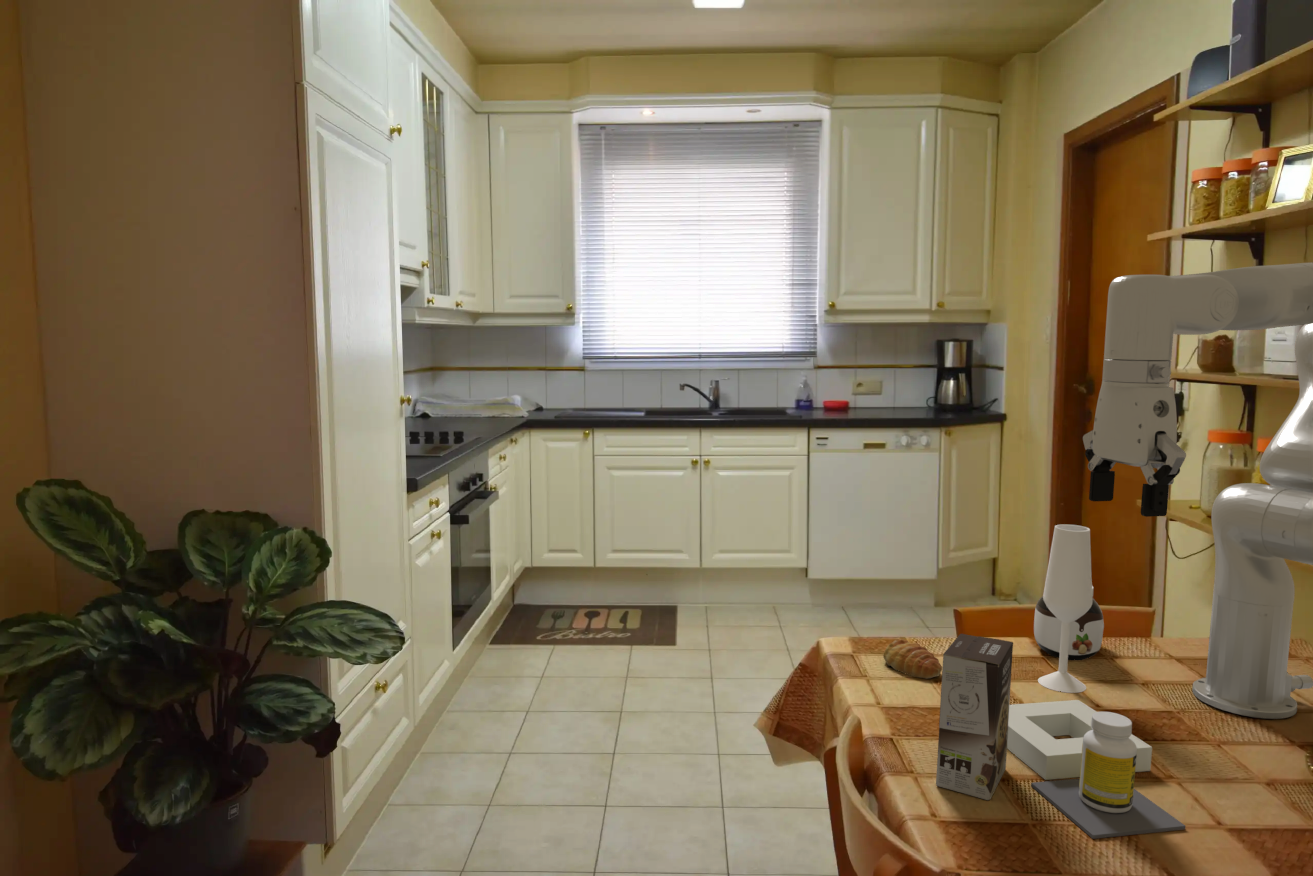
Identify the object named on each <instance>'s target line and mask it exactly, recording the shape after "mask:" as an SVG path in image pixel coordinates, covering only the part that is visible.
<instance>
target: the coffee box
mask: <svg viewBox="0 0 1313 876" xmlns="http://www.w3.org/2000/svg"><path fill="white" fill-rule="evenodd" d="M1013 649H1014V642H1013V641H1009V640H1004V639H999V638H991V637H986V636H985V637H984V636H975V635H971V634H970V635H968V634H965V633H959V635H958V636H957V637H956V639H955V640H954V641H953V642H952V643H951V644H950V645H949V646H948V648H947V649H946V650H945V651H944V653H943V654H942V657H943V658H942V671H941V672H942V673H941V687H940V688H941V690H940V705H939V708H940V709H939V720H938V722H939V723H938V725H939V726H938V741H937V742H938V743H937V744H938V745H937V758H936V759H937V763H936V777H935V786H937V787H940V788H943V789H947V790H951V791H954V792H958V793H960V794H961V793H962V794H964V795H967V796H972V797H975V798H977V799H978V798H979V799H981V800H986V801H989V800H991V799H992V796H993V794H995V791H996V789H997V787H998V784H999V783H1000V781H1001V779H1002V777H1003V775H1004V773H1005V771H1006V769H1007V768H1006V767H1007V755H1008V749H1007V740H1008V721H1009V705H1010V703H1011V702H1010V701H1011V683H1012V681H1011V680H1012V667H1013V666H1012V664H1013V651H1014V650H1013Z"/></svg>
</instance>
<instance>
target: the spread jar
mask: <svg viewBox="0 0 1313 876" xmlns="http://www.w3.org/2000/svg"><path fill="white" fill-rule="evenodd" d="M1094 589H1095V588H1094V586H1093V585H1092V606H1091V608H1090V609H1089V610H1088V611H1087V612H1086V613H1085V614H1084V615H1083V616H1081V617H1080V618H1078V619H1077V620H1075V621H1073V622H1070V634H1069V649H1068V661H1084V660H1087V659H1089V658H1092V657H1093V656H1095V655H1097V653H1098V652H1099V651H1100V649H1101V647H1102V642H1103V636H1104V635H1103V634H1104V630H1105V629H1104V628H1105V623H1104V615H1103V611H1102V609H1101V607H1100V605H1099V604H1098V602H1097V601H1096V600H1095V598H1094ZM1034 609H1035V610H1034V618H1033V619H1034V620H1033V634H1034V639H1035V641H1036V643H1037V645H1038V646H1039V648H1040V649H1041V650H1042V651H1043V652H1044V653H1045V652H1046V653H1045V654H1047V655H1048V654H1049V655H1048V656H1050V657H1053V656H1054V657H1053V658H1056V659H1059V655H1060V640H1061V625H1062V621H1061V620H1059V619H1058V618H1056V616H1055V615H1054V614H1053V613H1052V612H1051V611H1050V610H1049V609H1048V607H1047V606H1046V604H1045V602H1044V600H1043V595H1042V596H1041V597H1040V598H1039V599H1038V600H1037V603H1036V605H1035V608H1034Z"/></svg>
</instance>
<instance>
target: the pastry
mask: <svg viewBox="0 0 1313 876" xmlns="http://www.w3.org/2000/svg"><path fill="white" fill-rule="evenodd" d="M882 656H883V659H884V661H885V663H886V664H887V666H888V667H890V666H891V668H893V669H894V670H895V671H897V670H899V671H900V672H902V673H903V674H905V673H906V674H905V675H909V676H911V677H914V678H918V679H919V678H923V679H925V680H927V679H928V680H929V679H932V678H934V677H939V676H940V675H941V674H942V673H941V672H942V669H943V665H942V664H941V663H940V662H939V659H938V657H936V656H935V655H934V653H933V652H930V651H929V650H928V649H927V648H926V647H925V646H921V645H920V644H919V643H916V642H910V641H908V640H906V639H903V638H897V639H894V640H893V641H892V642H891V643H889V644H888V645H887V646H886V648H885V650H884V651H883V654H882ZM899 671H898V672H899ZM900 672H899V673H900Z"/></svg>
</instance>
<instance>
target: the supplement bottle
mask: <svg viewBox="0 0 1313 876" xmlns="http://www.w3.org/2000/svg"><path fill="white" fill-rule="evenodd" d="M1091 728H1092V730H1090V731H1088V732H1087V733H1086V734H1085V735H1084V737H1083V745H1082V758H1081V770H1080V777H1079V778H1080V781H1079V797H1080V798H1081V800H1082V801H1083V802H1084V803H1086V804H1087V805H1089V806H1090V807H1092V808H1094V809H1097V810H1100V811H1104V812H1109V813H1124V812H1127V811H1129V810H1130V809H1131V807H1132V802H1133V790H1134V789H1135V776H1136V772H1135V767H1136V757H1137V747H1136V744H1135V743H1134V741H1133V740H1132V739H1131V738H1129V737H1130V736H1131V734H1133V733H1132V731H1133V721H1132V720H1131V719H1130V718H1128V717H1127V716H1125V715H1122V714H1120V713H1116V712H1111V711H1096V713H1094V714H1093V715H1092V720H1091Z"/></svg>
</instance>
